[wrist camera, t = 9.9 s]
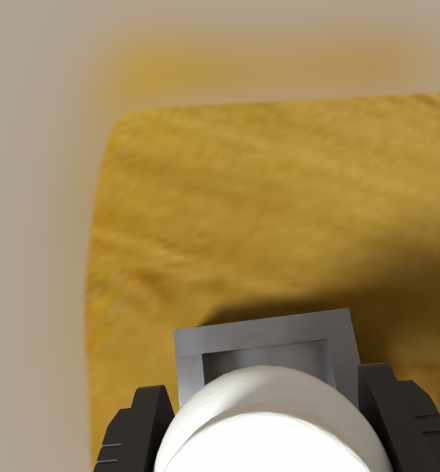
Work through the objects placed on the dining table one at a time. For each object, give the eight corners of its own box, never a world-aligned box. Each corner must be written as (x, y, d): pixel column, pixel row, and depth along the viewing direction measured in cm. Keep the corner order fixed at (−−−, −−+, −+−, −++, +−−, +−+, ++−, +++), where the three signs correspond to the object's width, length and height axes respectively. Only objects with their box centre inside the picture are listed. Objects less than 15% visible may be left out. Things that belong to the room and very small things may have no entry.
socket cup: (189, 334, 27) (174, 329, 23) (336, 316, 26) (348, 307, 22) (204, 503, 24) (188, 534, 19) (372, 489, 23) (394, 518, 18)
